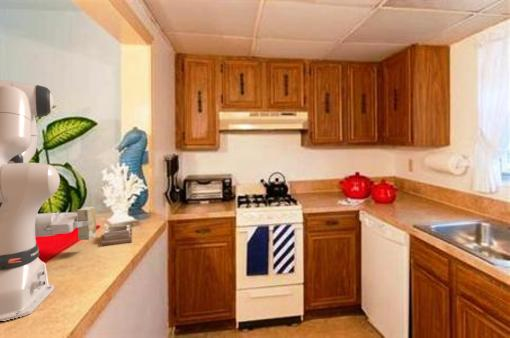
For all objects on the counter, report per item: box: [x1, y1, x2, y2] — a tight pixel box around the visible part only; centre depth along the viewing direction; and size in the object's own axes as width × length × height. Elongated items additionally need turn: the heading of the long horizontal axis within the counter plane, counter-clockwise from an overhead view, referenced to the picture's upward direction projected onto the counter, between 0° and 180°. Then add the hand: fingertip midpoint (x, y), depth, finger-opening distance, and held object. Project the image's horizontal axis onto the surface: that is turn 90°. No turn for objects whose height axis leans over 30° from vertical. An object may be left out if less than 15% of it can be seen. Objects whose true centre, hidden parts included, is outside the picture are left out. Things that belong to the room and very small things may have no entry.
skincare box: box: [76, 206, 98, 241], centre depth 126 cm, size 6×4×12 cm
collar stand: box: [100, 224, 133, 247], centre depth 143 cm, size 18×12×4 cm, turn 21°
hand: (89, 220), depth 126 cm, fingers closed on skincare box, 7 cm apart
